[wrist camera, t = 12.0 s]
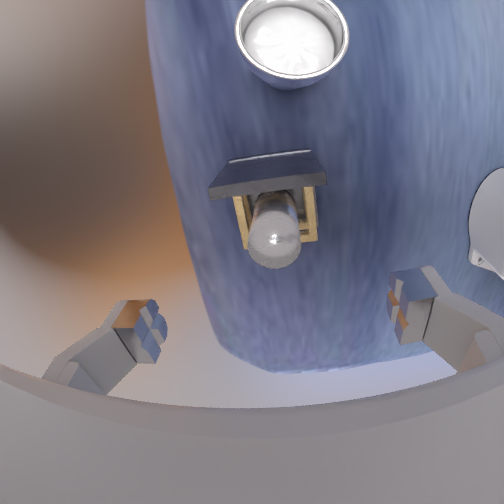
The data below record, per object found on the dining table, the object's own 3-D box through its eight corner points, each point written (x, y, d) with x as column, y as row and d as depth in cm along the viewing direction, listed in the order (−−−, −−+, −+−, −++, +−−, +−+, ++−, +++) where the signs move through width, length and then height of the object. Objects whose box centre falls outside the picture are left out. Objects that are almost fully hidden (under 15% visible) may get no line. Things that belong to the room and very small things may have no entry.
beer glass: (273, 104, 27) (270, 103, 14) (240, 54, 24) (208, 13, 11) (329, 78, 25) (374, 57, 12) (296, 27, 22) (312, -31, 9)
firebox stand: (317, 223, 34) (332, 274, 24) (245, 231, 35) (232, 284, 25) (309, 148, 29) (325, 170, 20) (229, 159, 31) (207, 187, 21)
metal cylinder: (300, 186, 30) (311, 234, 20) (284, 216, 32) (286, 276, 22) (266, 171, 30) (260, 211, 20) (252, 202, 32) (238, 256, 22)
